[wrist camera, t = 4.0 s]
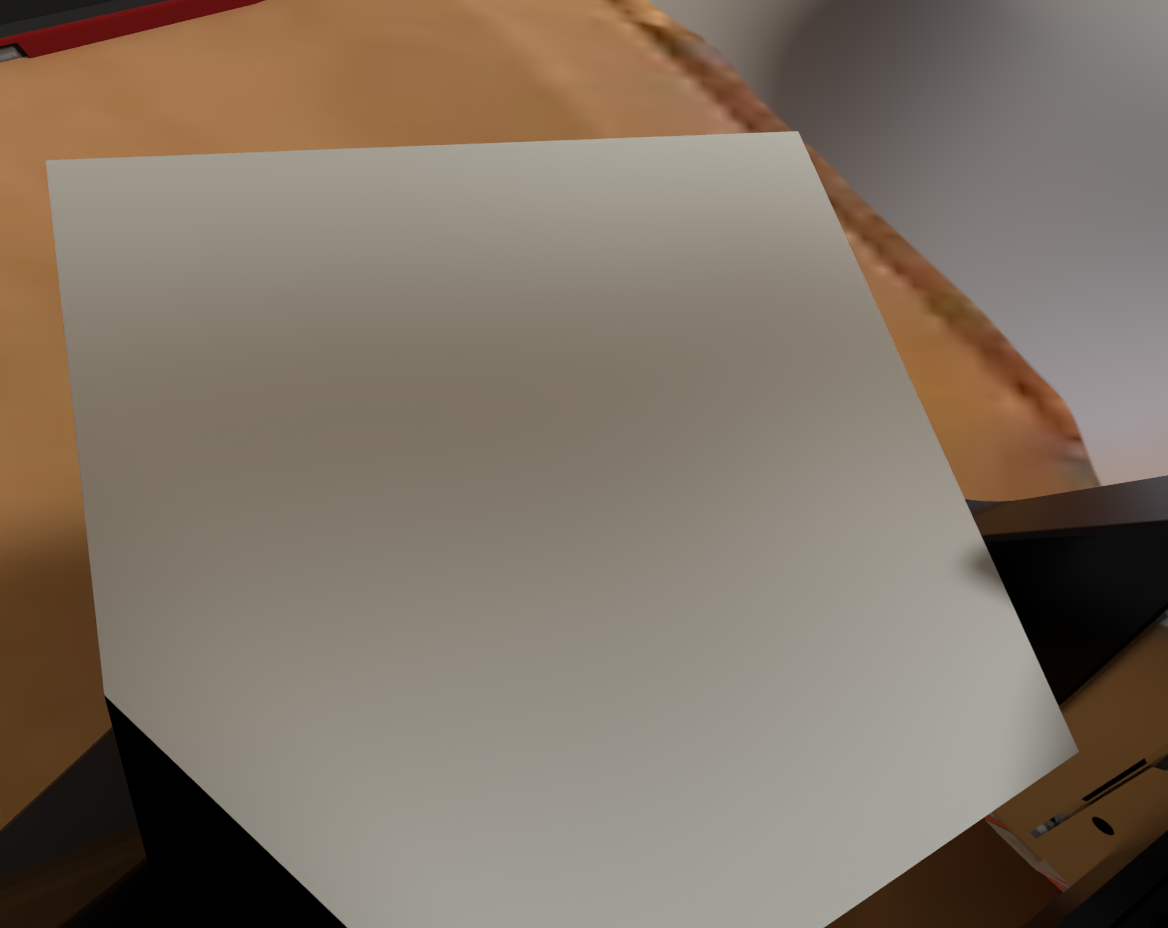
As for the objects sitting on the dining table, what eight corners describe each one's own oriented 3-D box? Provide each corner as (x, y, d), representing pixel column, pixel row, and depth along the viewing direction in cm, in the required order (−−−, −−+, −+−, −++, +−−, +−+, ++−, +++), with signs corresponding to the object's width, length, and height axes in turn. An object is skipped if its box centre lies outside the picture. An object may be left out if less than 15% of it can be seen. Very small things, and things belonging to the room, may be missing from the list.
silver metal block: (605, 603, 15) (1079, 751, 3) (451, 658, 14) (178, 1372, 2) (562, 460, 16) (797, 131, 4) (412, 497, 15) (45, 159, 2)
